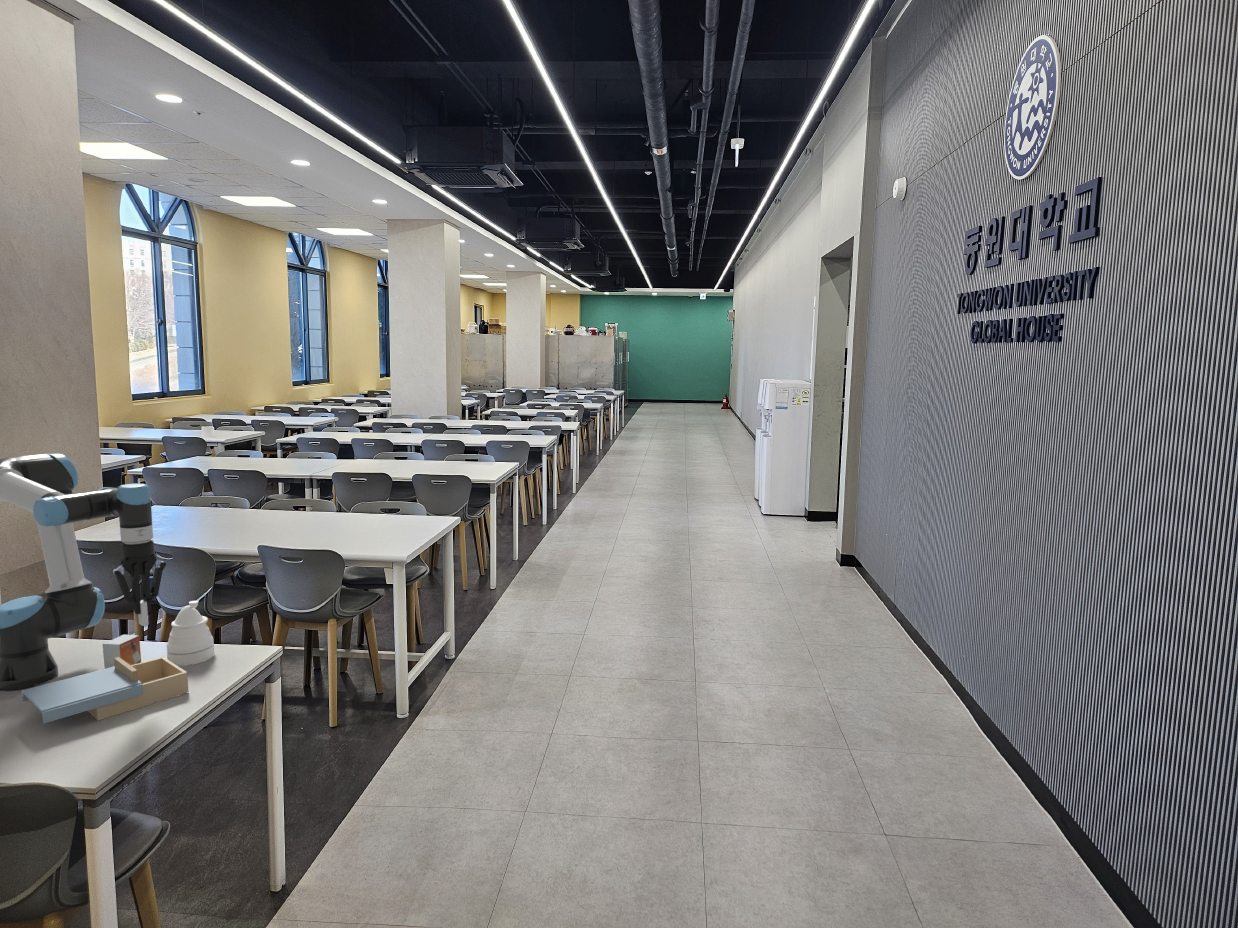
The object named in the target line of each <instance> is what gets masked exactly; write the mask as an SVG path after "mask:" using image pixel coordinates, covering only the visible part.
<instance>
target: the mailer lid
mask: <svg viewBox="0 0 1238 928" xmlns="http://www.w3.org/2000/svg"><path fill="white" fill-rule="evenodd" d="M114 665H115V666H114V667H110V668H106V669H105V668H103V669H99V670H95V671H92V672H87V673H83V674H80V675H76V676H72V677H69V678H64V679H61V680H57V681H53V682H50V683H46V684H45V683H44V684H40V685H36V686H33V687H29V688H25V689H21V697H22V702H24V703H25V702H27V701H28V702H29V701H30V702H31V704H33V705H34V707H36V709H38V711H40V712H41V714H42V715H41V717H42V724H47V723H50V722H53V721H57V720H60V719H64V718H67V717H70V716H74V715H77V714H80V713H84V712H86V711H87V712H88V710H91V709H95V708H98V707H101V706H105V705H108V704H112V703H115V702H118V701H122V700H125V699H129V698H132V697H136V696H139V695H142V694H143V684H142V683H141V682H140V681H139V680H138V673H137V670H136V669H135V668H134V667H132V666H131V665H129V664H128V663H127V662H125V661H124V660H122V659H121V658H120V657H117V658H114Z"/></svg>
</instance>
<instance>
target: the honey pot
mask: <svg viewBox="0 0 1238 928" xmlns="http://www.w3.org/2000/svg"><path fill="white" fill-rule="evenodd" d="M198 605H199V600H190V601H189V602H188V605H185V606H183V607H182V608H181V610H180V611H179V612H178V614H177V616H176V617H175V620H174V621H172V622H171V624H170V625H171V627H172V628H171V631H170V633H169V637H168V640H167V643H166V656H167V657H166V659H168V660H169V661H171V662H172V663H174V664H175V665H177V666H178V665H182V666H189V665H188V664H192V665H195V663H197V664H200V662H201V663H204V662H206V661H209V660H210V659H212V658H214V656H215V644H214V643H215V642H214V637H213V635H212V634H211V631H210V628H209V626H208V625H207V622H208V620H209V618H208V617H207V616H204V615H201V614H200V612H199V611H198V610H197V609H196V608H197V607H198Z"/></svg>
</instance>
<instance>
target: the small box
mask: <svg viewBox="0 0 1238 928" xmlns="http://www.w3.org/2000/svg"><path fill="white" fill-rule="evenodd" d="M102 654H103V665H104V666H103V667H104V669H106V668H110V667H114V666H115V665H114V658H117V657H120V658H121V659H122V660H124V661H125V662H127V663H128V664H129V665H134V664H138V663H142V653H141V639H140V635H134V634H122V635H119V636H117V637H115V638H113V639H111V640H109V641H107V642H104V643H102Z"/></svg>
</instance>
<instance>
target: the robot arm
mask: <svg viewBox="0 0 1238 928" xmlns="http://www.w3.org/2000/svg"><path fill="white" fill-rule="evenodd" d="M78 480H79V475H78V471H77V468H76V466H75V464H74V462H73V461H72V460H71V458H69V457H68V456H66V455H65V454H62V453H43V454H34V455H33V454H32V455H22V456H15V457H12V456H10V457H4V458H1V459H0V502H1V503H3V502H4V503H5V502H8V503H10V504H13V505H16V506H17V507H20V508H21V509H25V510H26V511H28V512H30V513H33V517H34V520H35V521H36V527H37V530H38V534H39V540H40V544H41V545H40V546H41V550H42V553H43V558H44V563H45V568H46V573H47V578H48V580H49V581H48V583H49V586H48V588H46V590H45V591H44V594H45V598H44V597H43V596H41V595H29V596H23V597H19V598H14V599H11V600H9V601H7V602H5V603H2V604H0V689H2V691H13V690H15V691H16V690H23V689H29V688H33V687H37V686H40V685H43V684H45V683H48V682H50V681H51V680H53V679H55V678H56V677H57V676H58V675H59V666H58V663H57V662H56V660H55V658H54V657H53V655H52V652H51V651H50V649H49V640H48V639H52V638H56V637H59V636H62V635H66V634H67V635H68V634H71V633H73V632H78V631H82V630H83V631H84V630H86V629H87V628H92V627H94V626H96V625H98V624H100V622H101V620H102V619H103V617H104V614H105V609H106V604H105V603H106V601H105V597H104V594H103V593H102V591H101V589H100V588H98V587H97V586H93V583H92V581H90V580H89V579H87V578H85V575H84V569H83V566H82V560H81V556H80V551H79V547H78V543H77V538H76V533H75V528H74V523H78V522H84V521H89V520H90V521H92V520H97V519H102V518H103V519H104V518H108V517H117V518H118V519H119V520H118V521H119V531H120V532H119V533H120V542H122V543H121V544H120V545H121V558H122V559H121V562H120V565H119V566H118V567H117V568H113V569H112V570H111V574H113V575H114V577H116V579H117V582H118V585H119V588H120V590H121V592H122V593H121V594H122V595H123V597H124V600H125V601H126V602H128V603H129V604H130V603H133V612H134V614H135V615H137V616H138V625H140V626H142V627H144V626H148V625H149V613H150V612H152V601H153V599H155V598H158V596H159V592H160V587H161V581H162V575H163V571H164V569H165V567H166V566H167V563H166V562H165V561H163V560H159V559H158V558H157V556H156V555H155V545H154V544H155V543H154V540H153V539H154V531H153V529H154V528H153V514H152V512H153V511H152V497H151V492H150V487H149V485H147V484H145V483H127V484H121V485H119V486H117V487H113V486H110V487H108V486H107V487H105V486H104V487H101V488H98V489H96V490H94V491H93V490H92V491H86V492H78V493H73V490H75V489H76V488H77V487H78V485H79V481H78ZM153 567H154V571H153V576H152V582H151V579H150V577H151V571H152V569H153ZM125 571H126V573H128V574H129V577H130V582H131V584H130V585H131V591H130V588H129V585H128V582H127V580H126V577H125V576H124V574H125ZM140 576H141V577H140ZM140 579H141V586H140ZM140 587H141V589H142V598H143V599H141V589H140Z"/></svg>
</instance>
